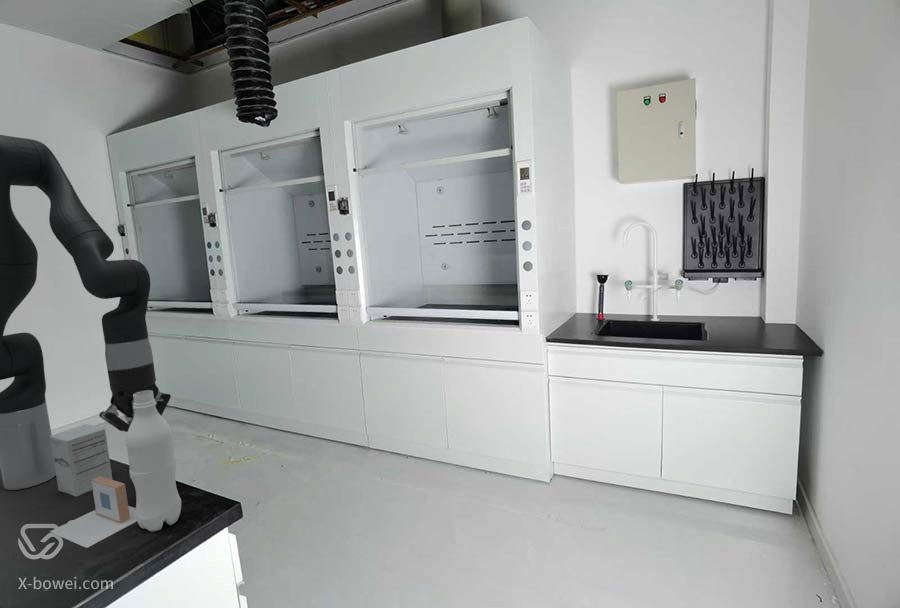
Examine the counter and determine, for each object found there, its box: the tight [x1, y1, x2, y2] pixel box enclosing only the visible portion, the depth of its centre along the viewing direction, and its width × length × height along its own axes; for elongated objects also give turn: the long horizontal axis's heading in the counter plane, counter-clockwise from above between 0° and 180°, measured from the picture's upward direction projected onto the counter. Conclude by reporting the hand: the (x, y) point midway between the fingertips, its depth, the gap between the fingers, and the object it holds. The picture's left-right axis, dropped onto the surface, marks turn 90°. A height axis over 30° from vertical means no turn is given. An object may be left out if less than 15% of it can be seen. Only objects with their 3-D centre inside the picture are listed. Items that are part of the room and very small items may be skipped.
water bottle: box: [124, 390, 182, 532], centre depth 87 cm, size 7×7×25 cm
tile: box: [91, 476, 130, 523], centre depth 90 cm, size 8×2×7 cm, turn 64°
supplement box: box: [50, 423, 114, 498], centre depth 103 cm, size 7×7×13 cm
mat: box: [49, 505, 138, 549], centre depth 89 cm, size 12×11×1 cm
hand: (143, 447), depth 95 cm, fingers closed
